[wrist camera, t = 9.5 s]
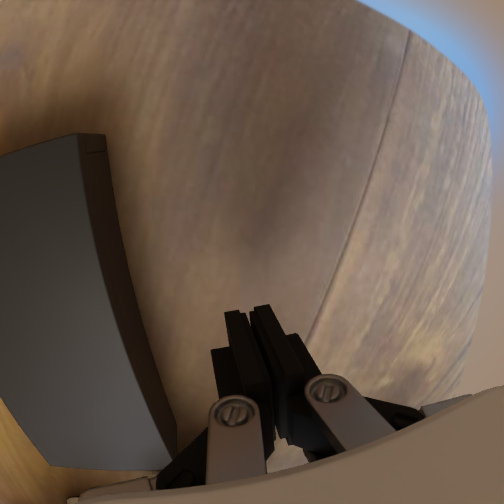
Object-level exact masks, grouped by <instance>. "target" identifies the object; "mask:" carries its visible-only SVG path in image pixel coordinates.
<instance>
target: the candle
mask: <svg viewBox="0 0 504 504" xmlns="http://www.w3.org/2000/svg"><path fill="white" fill-rule="evenodd" d="M78 499H79V498H77V497H75V498H69V499H67V504H74V503H76V502H78Z"/></svg>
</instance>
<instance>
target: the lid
mask: <svg viewBox="0 0 504 504" xmlns="http://www.w3.org/2000/svg"><path fill="white" fill-rule="evenodd" d="M106 150H107V146H106V138H105V135H104V134H88V133H74V134H70V135H66V136H62V137H59V138H55V139H52V140H48V141H45V142H41V143H38V144H35V145H32V146H29V147H25V148H22V149H19V150H16V151H13V152H10V153H8V154H5V155H2V156H0V397H1V399H2V400H3V402H4V403H5V405H6V407H7V408H8V410H9V411H10V413H11V414H12V416H13V417H14V419H15V420H16V421H17V423H18V424H19V426H20V427H21V428H22V430H23V431H24V433H25V434H26V435H27V437H28V438H29V439H30V441H31V442H32V443H33V445H34V446H35V447H36V448H37V450H38V451H39V452H40V453H41V455H42V456H43V457H44V458H45V460H46V461H47V462H48V463H49V464H50V465H51V466H58V467H67V468H79V469H94V470H126V471H135V470H163V469H164V468H165V467H166V466H167V465H168V464H169V463H170V462H171V461H173V460H174V459H175V458H176V457H177V424H176V422H175V419H174V416H173V414H172V411H171V408H170V406H169V403H168V400H167V397H166V395H165V392H164V389H163V386H162V383H161V380H160V377H159V374H158V371H157V368H156V365H155V362H154V359H153V356H152V353H151V350H150V346H149V343H148V340H147V337H146V333H145V330H144V326H143V323H142V319H141V316H140V312H139V308H138V305H137V301H136V297H135V293H134V289H133V285H132V281H131V277H130V273H129V269H128V264H127V260H126V256H125V251H124V246H123V242H122V237H121V232H120V227H119V222H118V216H117V211H116V205H115V199H114V193H113V187H112V181H111V174H110V167H109V160H108V152H107V151H106Z"/></svg>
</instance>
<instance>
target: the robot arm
mask: <svg viewBox="0 0 504 504" xmlns="http://www.w3.org/2000/svg"><path fill="white" fill-rule="evenodd" d="M224 315H225V321H226V327H227V334H228V340H229V347H224V348H218V349H212V350H211V356H212V362H213V367H214V373H215V379H216V384H217V390H218V395H219V400H217V401H216V402H215V403H214V404H213V405H212V407H211V408H210V411H209V420H208V427H207V428H206V429H205V430H204V431H203V432H202V433H201V434H200V435H199V436H198V437H197V438H196V439H195V440H194V441H193V442H192V443H191V444H190V445H188V446H187V447H186V448H185V449H184V450H183V451H182V452H181V453H180V454H179V455H178V456H177V457H176V458H175V459H174V460H173V461H171V462H170V463H169V464H168V465H167V466H166V467H165V468H164V469H163V470H162V471H161V472H160V473H159V475H158V476H157V477H153V478H150V479H149V478H148V477H147V476H145V477H141V478H137V479H133V480H128V481H124V482H119V483H115V484H110V485H105V486H99V487H94V488H90V489H88V490H86V491H84V492H83V493H82V494H81V495H80V497H79V499H78V502H76V503H74V504H504V386H498V387H494V388H490V389H487V390H484V391H481V392H479V393H476V394H474V395H470V394H468V395H463V396H459V397H456V398H452V399H449V400H445V401H441V402H437V403H433V404H429V405H425V406H421V408H420V410H416V409H414V408H411V407H407V406H402V405H398V404H393V403H389V402H384V401H380V400H376V399H372V398H368V397H364V396H362V395H361V394H360V393H359V392H358V391H357V390H356V389H355V388H354V387H353V386H352V385H351V384H350V383H349V381H347V380H346V379H345V378H343V377H341V376H339V375H335V374H321V372H320V370H319V369H318V367H317V365H316V364H315V362H314V360H313V358H312V357H311V355H310V353H309V352H308V350H307V348H306V347H305V345H304V343H303V342H302V340H301V338H300V336H299V335H298V334H297V333H294V334H289V335H285V333H284V331H283V329H282V327H281V325H280V324H279V322H278V320H277V318H276V316H275V314H274V312H273V310H272V308H271V307H270V305H269V304H267V305H261V306H256V307H254V311H250V312H249V315H250V324H251V326H250V324H249V321H248V318H247V316H246V313H240V311H239V310H234V311H228V312H224ZM275 426H276V429H277V432H278V434H279V437H280V439H282V438H286V440H287V443H288V445H295V446H298V447H300V448H303V452H304V455H305V456H306V458H307V459H308V461H309V462H310V463H308V464H304V465H300V466H297V467H293V468H289V469H285V470H281V471H277V472H273V473H269V474H267V467H266V460H267V459H268V458H269V456H270V455H271V454H272V452H273V451H274V440H276V433H275Z"/></svg>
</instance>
